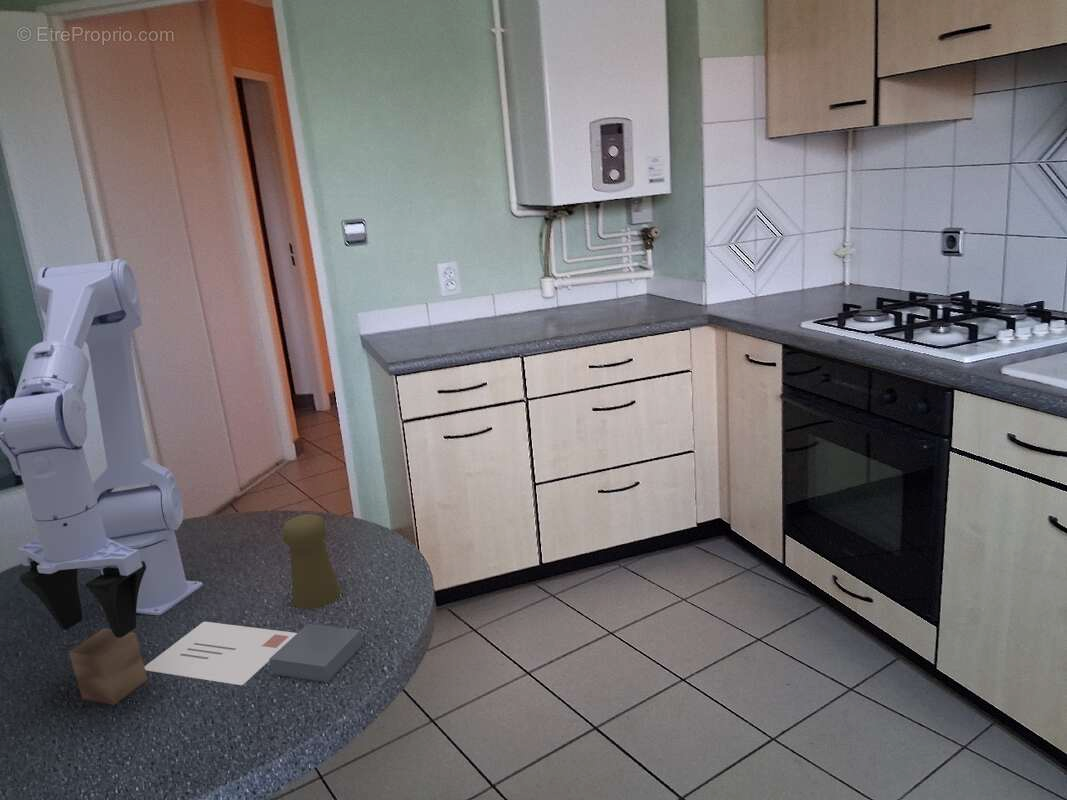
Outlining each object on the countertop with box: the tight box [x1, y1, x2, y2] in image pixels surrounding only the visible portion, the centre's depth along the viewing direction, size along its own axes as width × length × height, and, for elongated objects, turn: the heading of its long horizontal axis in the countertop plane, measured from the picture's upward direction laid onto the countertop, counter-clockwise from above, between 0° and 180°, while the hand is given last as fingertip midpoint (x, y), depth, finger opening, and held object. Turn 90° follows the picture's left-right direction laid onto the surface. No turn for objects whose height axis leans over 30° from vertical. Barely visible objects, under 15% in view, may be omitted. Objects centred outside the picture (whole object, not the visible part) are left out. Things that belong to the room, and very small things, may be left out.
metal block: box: [269, 623, 364, 683], centre depth 87 cm, size 7×7×2 cm
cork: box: [282, 513, 341, 610], centre depth 100 cm, size 6×6×11 cm
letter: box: [144, 621, 298, 686], centre depth 91 cm, size 14×10×1 cm
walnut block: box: [68, 627, 148, 706], centre depth 85 cm, size 4×4×6 cm
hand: (98, 628), depth 84 cm, fingers open, 7 cm apart
